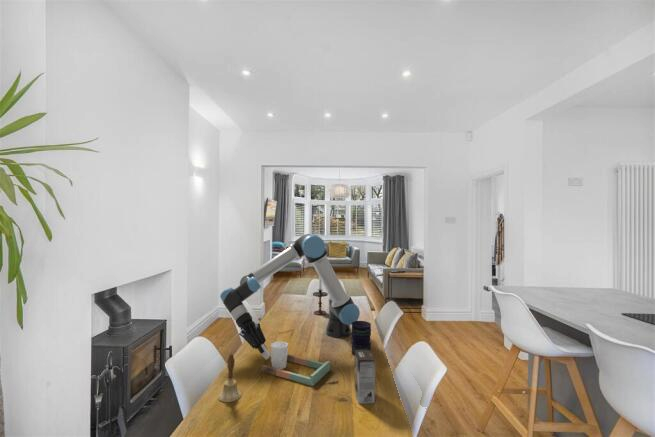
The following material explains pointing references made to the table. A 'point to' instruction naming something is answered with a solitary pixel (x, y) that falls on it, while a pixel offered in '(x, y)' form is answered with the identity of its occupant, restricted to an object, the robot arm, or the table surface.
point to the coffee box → (364, 376)
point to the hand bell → (230, 385)
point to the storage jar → (361, 336)
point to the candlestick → (320, 294)
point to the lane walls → (273, 370)
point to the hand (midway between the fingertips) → (268, 357)
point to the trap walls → (287, 374)
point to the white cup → (279, 354)
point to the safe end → (316, 376)
